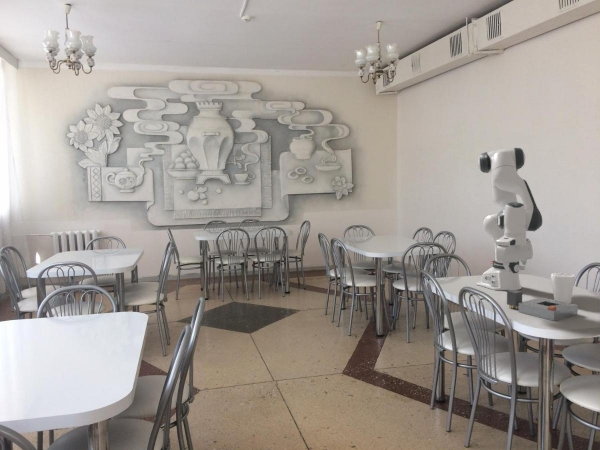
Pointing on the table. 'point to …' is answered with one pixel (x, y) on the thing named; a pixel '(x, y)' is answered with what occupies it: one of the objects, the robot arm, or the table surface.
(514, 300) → the plug
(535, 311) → the socket
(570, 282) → the foam cup
